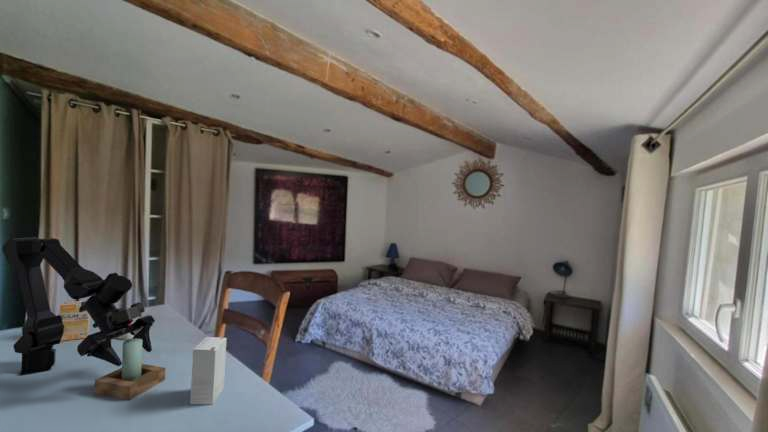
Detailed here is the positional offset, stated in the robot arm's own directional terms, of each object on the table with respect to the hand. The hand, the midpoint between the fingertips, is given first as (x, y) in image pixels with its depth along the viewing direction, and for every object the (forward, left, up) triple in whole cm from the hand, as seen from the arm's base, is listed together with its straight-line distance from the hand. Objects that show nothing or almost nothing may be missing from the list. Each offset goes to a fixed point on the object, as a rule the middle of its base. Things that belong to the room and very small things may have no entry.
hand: (136, 357), depth 96 cm
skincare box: (+16, -15, -8) cm, 23 cm away
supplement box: (-17, +50, -8) cm, 53 cm away
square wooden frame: (-1, +1, -8) cm, 8 cm away
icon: (-2, +46, -9) cm, 47 cm away
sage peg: (-1, +1, -8) cm, 8 cm away
